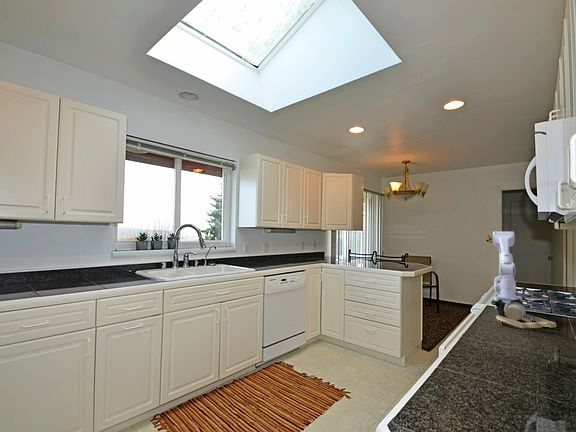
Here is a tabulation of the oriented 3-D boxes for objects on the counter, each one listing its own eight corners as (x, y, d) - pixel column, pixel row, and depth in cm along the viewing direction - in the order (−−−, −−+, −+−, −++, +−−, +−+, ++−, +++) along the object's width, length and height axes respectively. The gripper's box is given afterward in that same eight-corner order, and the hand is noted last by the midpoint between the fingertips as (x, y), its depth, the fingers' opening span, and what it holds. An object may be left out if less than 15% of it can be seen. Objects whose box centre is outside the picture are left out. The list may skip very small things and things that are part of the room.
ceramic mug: (503, 319, 147) (503, 303, 147) (506, 315, 153) (506, 300, 153) (531, 325, 139) (531, 308, 139) (533, 320, 145) (533, 304, 145)
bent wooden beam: (527, 318, 150) (527, 314, 150) (556, 327, 136) (555, 322, 136) (496, 319, 147) (496, 315, 147) (522, 328, 133) (522, 323, 133)
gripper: (501, 289, 146) (502, 317, 145) (527, 289, 148) (528, 316, 147) (489, 286, 153) (490, 313, 152) (514, 286, 155) (515, 313, 154)
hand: (508, 315), depth 150 cm, fingers open, 7 cm apart
